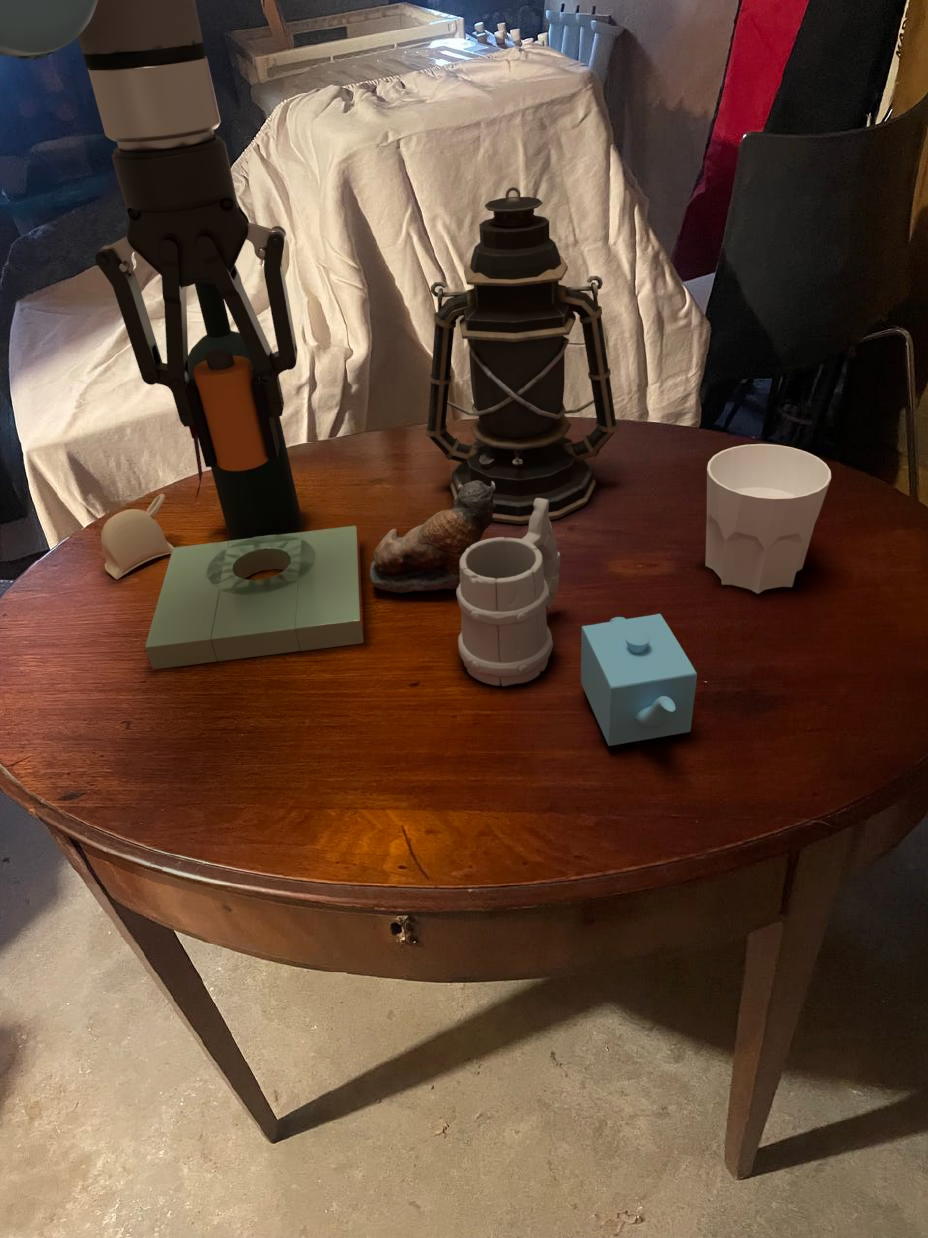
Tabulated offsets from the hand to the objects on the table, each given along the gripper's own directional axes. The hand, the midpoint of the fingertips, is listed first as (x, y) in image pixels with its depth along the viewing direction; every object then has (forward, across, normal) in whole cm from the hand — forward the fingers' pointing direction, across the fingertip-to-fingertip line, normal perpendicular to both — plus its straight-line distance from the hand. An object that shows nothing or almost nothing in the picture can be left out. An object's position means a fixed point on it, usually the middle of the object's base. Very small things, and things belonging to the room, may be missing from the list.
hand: (243, 455), depth 73 cm
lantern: (+15, -26, -16) cm, 34 cm away
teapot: (+15, -28, +22) cm, 39 cm away
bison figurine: (+15, -15, 0) cm, 21 cm away
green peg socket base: (+15, +1, 0) cm, 15 cm away
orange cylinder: (0, 0, 0) cm, 0 cm away
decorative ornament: (+15, +14, -11) cm, 23 cm away
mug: (+15, -21, +11) cm, 28 cm away
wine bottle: (+15, +3, -14) cm, 21 cm away
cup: (+15, -44, +4) cm, 46 cm away
